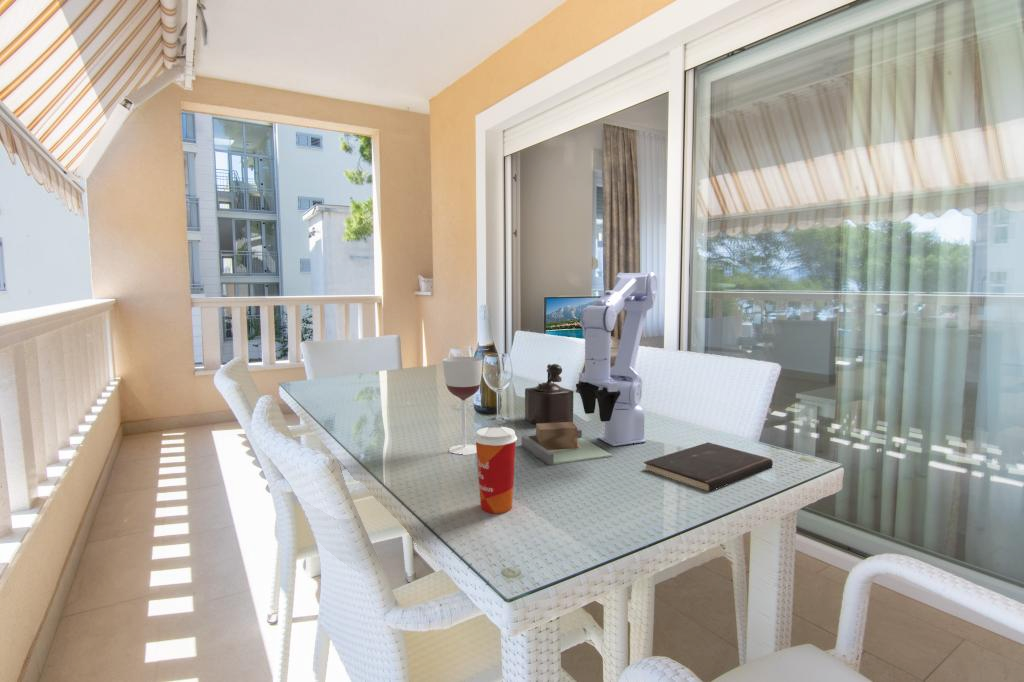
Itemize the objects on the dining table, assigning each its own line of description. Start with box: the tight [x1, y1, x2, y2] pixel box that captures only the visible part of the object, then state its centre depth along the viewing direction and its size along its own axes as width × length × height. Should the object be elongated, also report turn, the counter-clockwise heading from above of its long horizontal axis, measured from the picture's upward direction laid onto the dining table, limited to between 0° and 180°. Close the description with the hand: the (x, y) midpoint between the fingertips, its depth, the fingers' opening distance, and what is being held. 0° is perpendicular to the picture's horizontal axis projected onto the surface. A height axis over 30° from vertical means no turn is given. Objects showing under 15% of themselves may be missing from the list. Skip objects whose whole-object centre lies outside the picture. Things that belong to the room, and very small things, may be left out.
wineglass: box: [442, 356, 483, 456], centre depth 132 cm, size 9×10×22 cm
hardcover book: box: [643, 442, 774, 492], centre depth 119 cm, size 16×23×2 cm
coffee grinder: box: [524, 363, 574, 425], centre depth 156 cm, size 16×11×18 cm
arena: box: [521, 428, 613, 466], centre depth 132 cm, size 16×16×2 cm
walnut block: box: [535, 421, 578, 450], centre depth 133 cm, size 9×5×5 cm, turn 97°
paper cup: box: [473, 426, 518, 515], centre depth 99 cm, size 8×8×14 cm
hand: (597, 417), depth 127 cm, fingers open, 7 cm apart
